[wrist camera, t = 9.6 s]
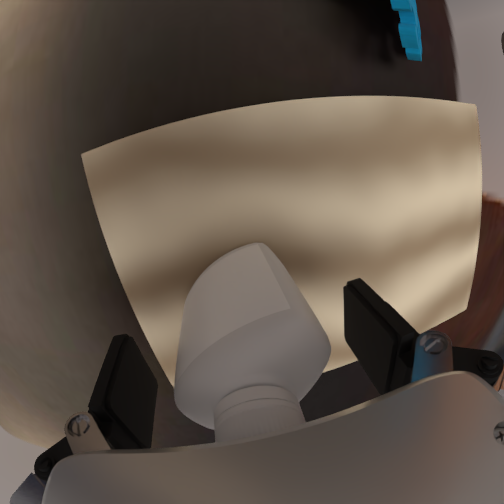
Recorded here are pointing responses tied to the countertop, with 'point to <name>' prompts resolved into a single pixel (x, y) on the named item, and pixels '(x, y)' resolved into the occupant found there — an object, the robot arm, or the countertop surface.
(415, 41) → the gear
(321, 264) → the beige flat sheet
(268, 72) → the countertop surface
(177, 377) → the eye dropper bottle
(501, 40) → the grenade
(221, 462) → the robot arm
